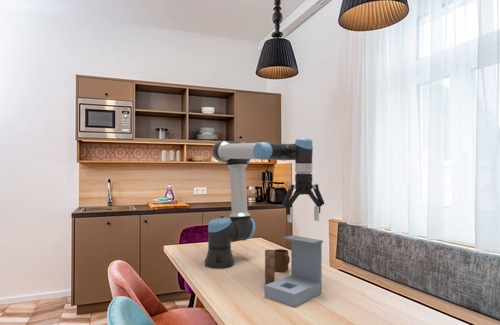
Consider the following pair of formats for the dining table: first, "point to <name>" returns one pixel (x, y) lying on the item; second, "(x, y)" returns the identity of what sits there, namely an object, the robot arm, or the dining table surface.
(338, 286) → the dining table surface
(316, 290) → the socket station
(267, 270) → the peg
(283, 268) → the mug
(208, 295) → the dining table surface
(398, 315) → the dining table surface
